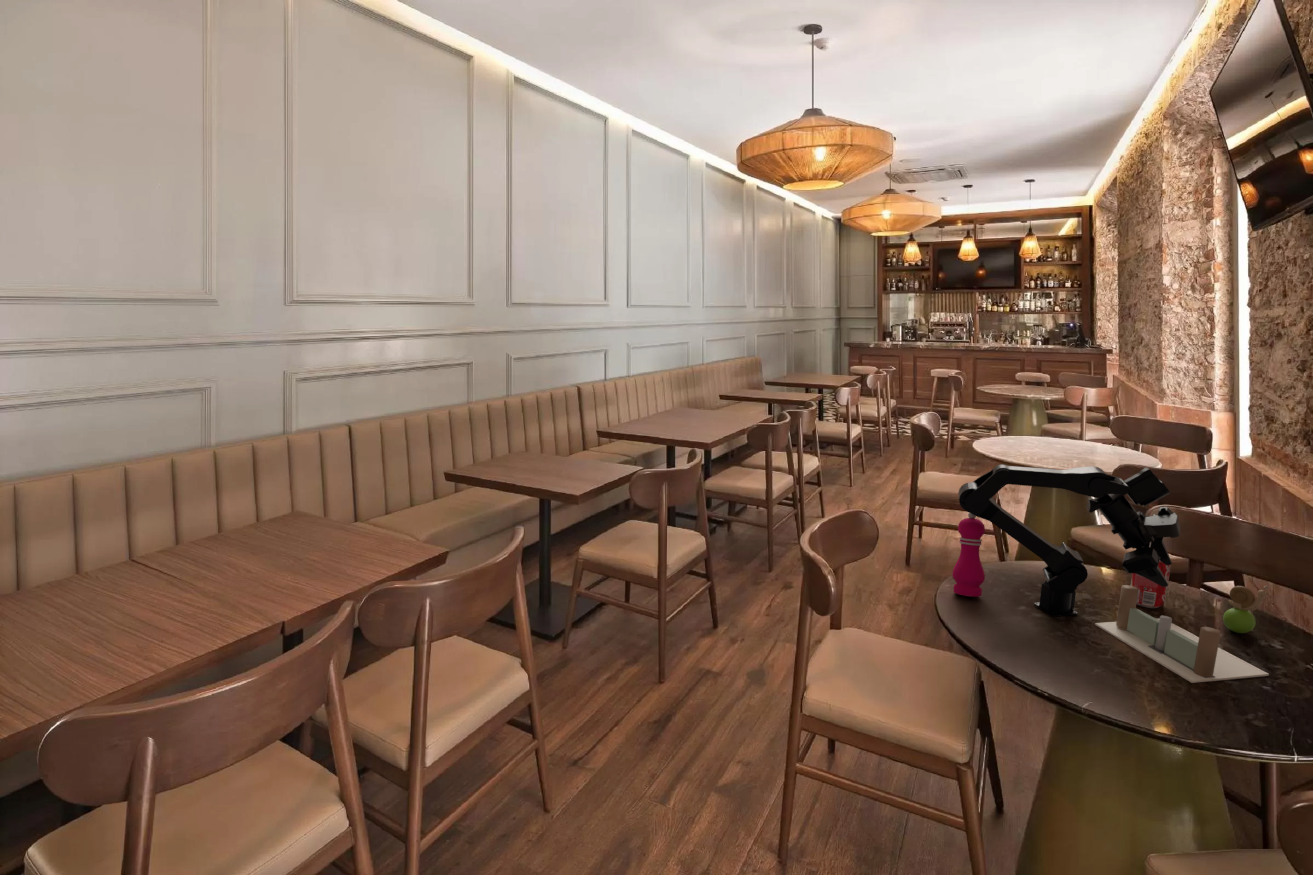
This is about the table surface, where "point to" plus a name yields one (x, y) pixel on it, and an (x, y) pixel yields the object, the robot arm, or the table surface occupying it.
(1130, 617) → the fence gate
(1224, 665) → the card
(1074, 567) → the robot arm
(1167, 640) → the fence fixed
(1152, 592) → the soda can
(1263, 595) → the snail figurine
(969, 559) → the pepper mill
